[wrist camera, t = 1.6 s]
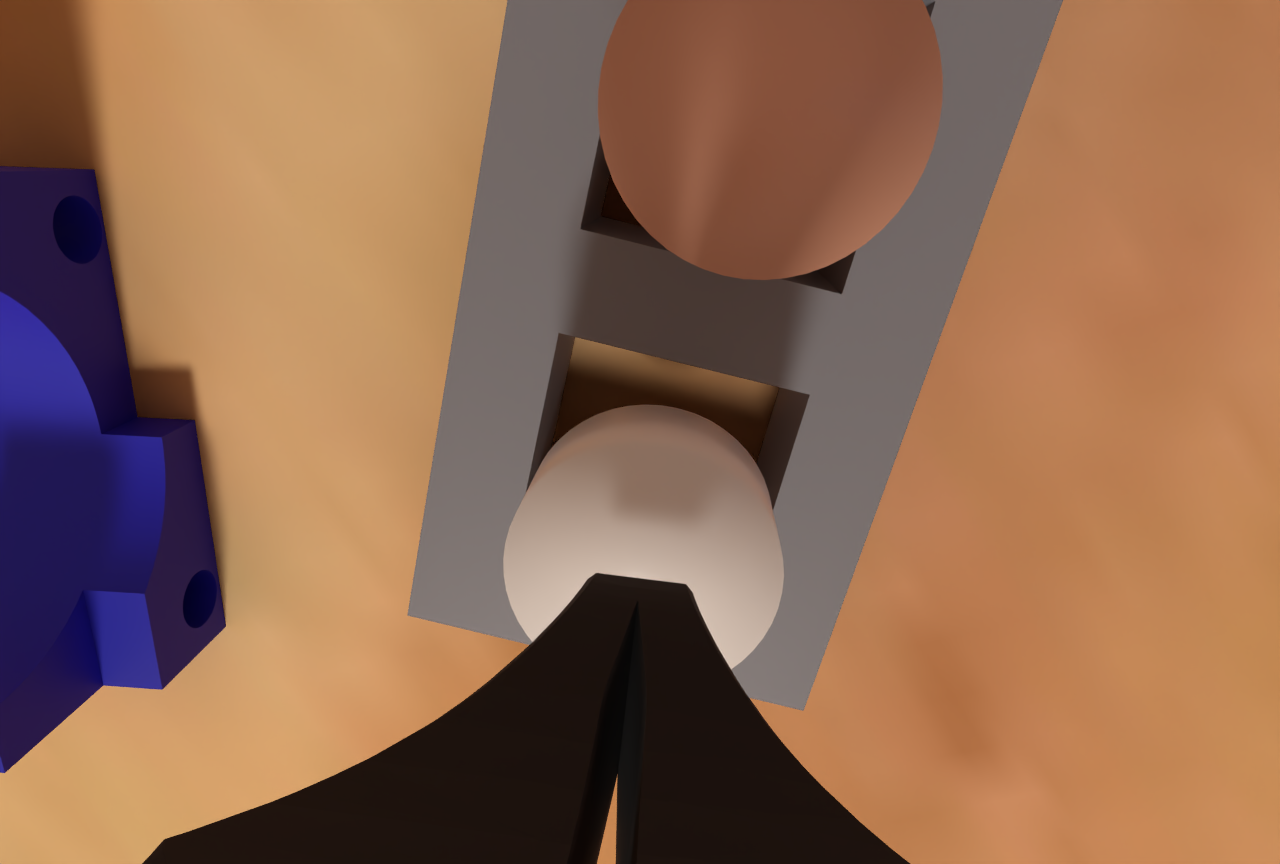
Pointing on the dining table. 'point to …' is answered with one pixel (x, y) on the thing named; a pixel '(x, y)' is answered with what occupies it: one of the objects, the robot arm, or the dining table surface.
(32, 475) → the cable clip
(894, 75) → the knob middle
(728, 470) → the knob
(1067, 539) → the dining table surface
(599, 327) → the mount
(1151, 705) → the dining table surface
